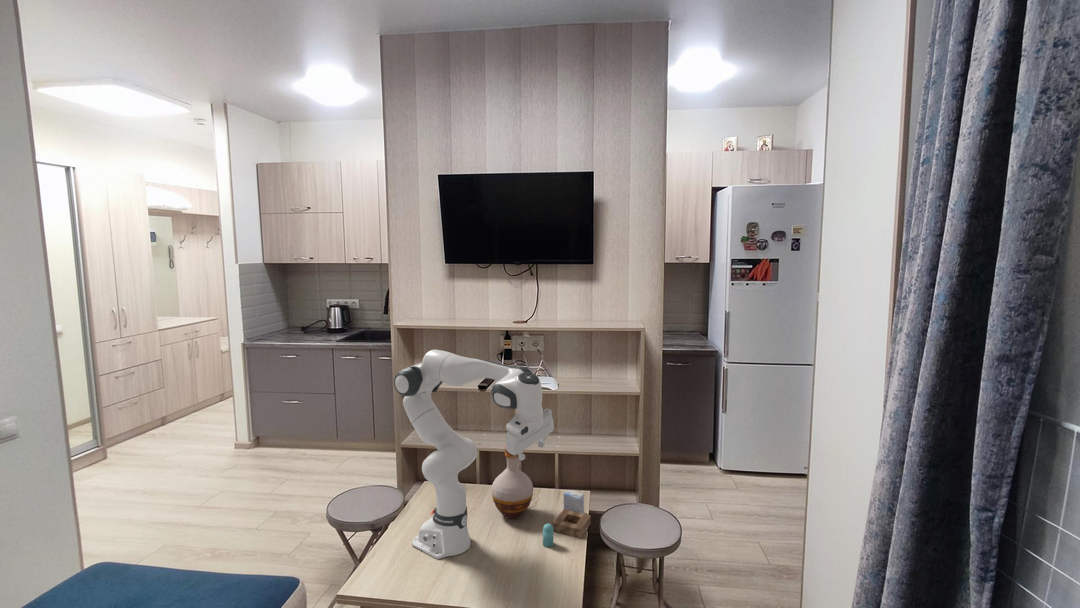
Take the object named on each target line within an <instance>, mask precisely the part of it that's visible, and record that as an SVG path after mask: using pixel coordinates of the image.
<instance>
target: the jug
mask: <svg viewBox="0 0 1080 608" xmlns="http://www.w3.org/2000/svg"><path fill="white" fill-rule="evenodd" d="M504 457H505V458H506V468H505V469H504V470H503V471H502V472H501V473H500V474H499V475H498V476H497V477H495V479H494V481H493V482H492V485H491V497H492V500H493V503H494V505H495V508H496V509H497V510H498V512H500V514H501V515H502V516H503V517H504V518H506V519H511V520H513V519H514V520H516V519H518V518H520V517H521V516H523V514H524V513H525V512H526V511H527V509H528V508H529V507H530V504H531V502H532V500H533V495H534V486H533V485H534V484H533V482H532V480H531V478H530V477H529V476H528V475H527V474H526V473H525V472H523V471H522V461H521V460H520V459H519V455H518V454H517V455H515V456H514V455H512V454H510V453H509V452H508V451H507V449H506V444H505V445H504Z"/></svg>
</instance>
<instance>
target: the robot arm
mask: <svg viewBox="0 0 1080 608" xmlns="http://www.w3.org/2000/svg"><path fill="white" fill-rule="evenodd" d="M482 379H491V380H495V381H497V382H495V384H493V386H492V387H491V390H490V393H491V399H492V401H493V402H494V404H495V405H496V406H498V407H500V408H503V409H505V410H506V409H507V410H516V413H515V415H514V416H513V417H512V419H510V421H509V422H508V423H506V425H505V429H506V430H507V433H506V435H505V445H506V449H507V451H508V452H509V453H510V454H512V455H514V456H515V455H517V454H518V455H519V459H520V460H521V462H522V461H524V460H525V459H526V454H524V450H526V449H528V448H529V447H531V446H532V445H534V444H535V443H537V444H538V445H537V447H538V448H540V449H542V448H543V447H545V442H546V440H547V437H548V435H549V434H551V433H553V431H554V430H555V424H554V423H555V421H554V418H553V414H552V413H553V412H552V409H551V408H545V409H544V410H543V405H542V403H543V389H542V383H541V380H540V378H539V377H538V375H537V374H534V373H533V372H532V370H530V369H529V368H527V367H525V366H522V365H518V366H517V365H516V366H511V365H508V364H504V363H500V362H495V361H493V360H487V359H481V358H472V357H466V356H463V355H458V354H455V353H452V352H451V351H450V352H449V351H446V350H442V349H440V350H439V349H431V350H429V351H427V352H426V353H425V355H424V356H423V358H422V361H421V362H419V363H415V364H414V365H411V366H407V367H404V368H402V369H401V370H399V371H398V372H397V373H395V376H394V379H393V385H394V389H395V391H396V393H398V394H399V395H400V396H402V397H403V400H402V405H403V408H404V412H405V413H406V415H407V418H408V419H409V421H410V423H411V426H412V427H413V429H414V430H415V432H416V434H417V435H418V437H419V438H420V440H421V442H423V443H426V444H430V445H432V446H434V447H435V448H436V449H437V450H434V451H433V452H431V453H430V454H429V455H428V456H427V457H426V458H425V459H424V460H423V462H422V465H421V472H422V474H423V477H424V479H426V481H428V482H429V483H430V484H432V485H433V487H434V490H435V499H436V501H435V502H436V507H434V508H433V510H431V511H430V516H432V517H430V518H429V519H428V520H426V521H425V522H424V523H422V525H421V526H420V527H419V530H418V534H417V535H416V536H415V537H414V538H413V540H412V542H411V546H412V545H413V546H414V547H413V546H412V547H413V548H415V547H416V548H415V549H417V548H418V550H419V549H420V550H419V551H421V550H422V551H421V552H423V553H425V554H427V555H429V556H430V557H433V558H434V559H437V560H440V559H443V558H447V557H453V556H458V555H461V554H463V553H465V552H466V551H468V550H469V549H470V547H471V544H472V542H471V541H472V540H471V538H470V534H469V528H468V516H469V515H468V507H467V490H466V489H467V488H466V486H465V485H464V484H463V483H461V482H460V481H459V478H458V477H459V473H460V472H461V471H463V470H465V469H467V468H468V467H469V466H470V465H471V464H472V463H473V462H474V461H475V459H477V457H478V447H477V445H476V443H475V442H474V441H473V440H472V439H471V438H467V437H465V436H462V435H461V434H460V433H458V432H456V431H455V430H454V429H453V427H451V426H450V425H449V424H448V423H447V421H446V419H445V418H444V416H443V415H442V412H441V411H440V410H439V408H438V407H437V405H436V404H435V402H434V401H433V398H432V393H436V392H437V391H438V390H439V388H440V386H441V385H442V384H443V383H445V384H446V385H450V386H453V387H462V386H466V385H467V384H471V383H472V382H475V381H478V380H482Z"/></svg>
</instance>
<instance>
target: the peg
mask: <svg viewBox="0 0 1080 608" xmlns="http://www.w3.org/2000/svg"><path fill="white" fill-rule="evenodd" d="M542 546H543V547H544V548H552V547H553V546H554V532H553V524H551V523H545V524H544V525H543V528H542Z"/></svg>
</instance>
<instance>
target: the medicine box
mask: <svg viewBox="0 0 1080 608" xmlns="http://www.w3.org/2000/svg"><path fill="white" fill-rule="evenodd" d="M563 509H565V510H569V511H574V512H578V513H583V514H585V494H584V493H581V492H578V491H576V490H575V491H574V490H570V489H568V490H566V491H565V492H564V493H563Z"/></svg>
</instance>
